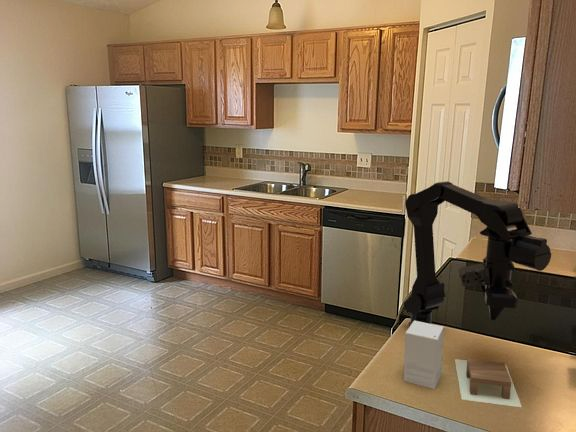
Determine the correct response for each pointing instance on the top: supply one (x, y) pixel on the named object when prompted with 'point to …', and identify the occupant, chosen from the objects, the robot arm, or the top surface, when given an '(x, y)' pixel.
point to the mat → (484, 389)
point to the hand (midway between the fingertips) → (492, 319)
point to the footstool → (488, 375)
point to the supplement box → (423, 354)
